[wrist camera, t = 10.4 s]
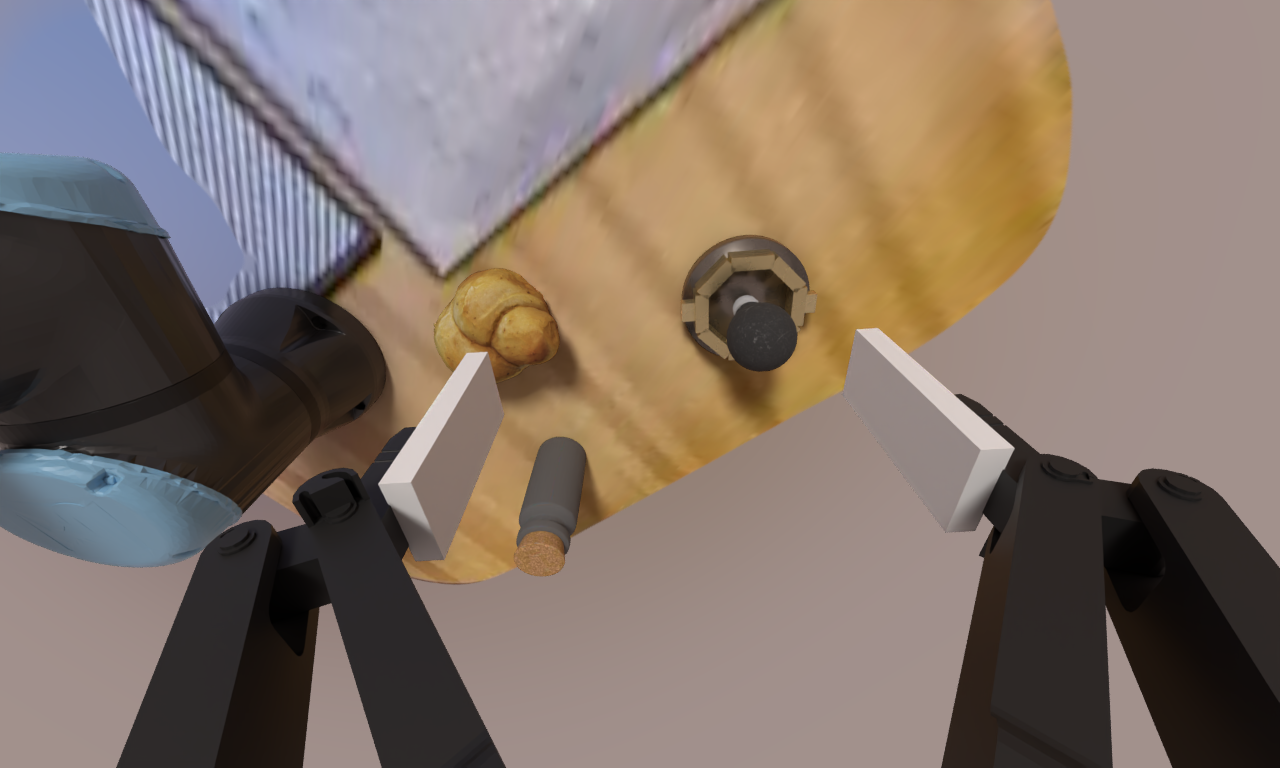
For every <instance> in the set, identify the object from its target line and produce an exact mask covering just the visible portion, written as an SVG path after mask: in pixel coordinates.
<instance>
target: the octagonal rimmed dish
mask: <svg viewBox="0 0 1280 768" xmlns="http://www.w3.org/2000/svg"><path fill="white" fill-rule="evenodd" d="M745 295H750V296H753V297H754V298H755V299H756V300H758V302H767V303H771V304H774V305H777V306H779V307H781V308H782V309H784V310H785V311H786V312H787V313H788V314H789V315H790V316H791V318H792V319H793V321H794V323H795V326H796V329H797V333H798V332H799V331H800V330H801V329H800V328H799V326H803V322H804V315H805V313H814V312H815V307H816V299H817V293H816V292H815V291H814V290H811V291H810V290H809V281H808V277H807V274H806V271H805V269H804V267H803V265H802V264H801V262H800V261H799V259H798V258H797V257H796V256H795V255H794V254H793V253H792V252H791V251H790V250H789V249H788V248H786V247H785V246H784V245H782V244H781V243H779V242H778V241H775V240H773V239H771V238H767V237H764V236H757V235H743V236H736V237H733V238H729V239H726V240H724V241H722V242H720V243H718V244H716V245H714V246H713V247H711V248H710V249H708V250H707V251H706V252H705V253H704V254H703V255H702V256H700V257H699V259H698V260H697V261H696V262H695V263H694V265H693V266H692V268H691V269H690V271H689V273H688V275H687V277H686V280H685V283H684V286H683V291H682V300H681V319H682V322H685V323H686V325H687V328H688V330H689V332H690V333H691V335H692V336H693V338H694V339H695V340H696V341H697V342H698V343H699V344H700V345H701V346H702V347H703V348H705V349H706V350H708V351H710V352H712V353H713V354H716V355H719V356H721V357H723V358H724V359H726V358H728V360H735V359H734V358H733V357H732V355H731V354H730V352H729V349H728V347H727V338H726V336H727V329H728V326H729V323H730V321H731V320H732V318H733V316H734V314H733V305H734V303H735V301H736V300H737V299H738V298H740V297H742V296H745Z"/></svg>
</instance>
